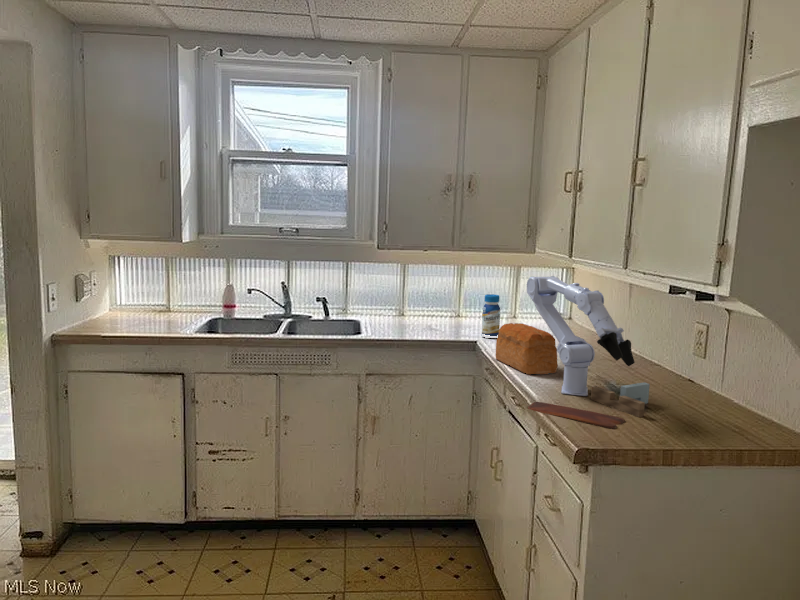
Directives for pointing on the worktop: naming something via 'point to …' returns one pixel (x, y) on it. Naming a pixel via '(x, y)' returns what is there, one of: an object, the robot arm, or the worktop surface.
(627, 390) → the grey notched plate
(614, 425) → the wooden tablet
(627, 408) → the walnut slotted rail
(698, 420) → the worktop surface
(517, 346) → the bread
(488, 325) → the beverage bottle
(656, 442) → the worktop surface
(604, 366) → the worktop surface
